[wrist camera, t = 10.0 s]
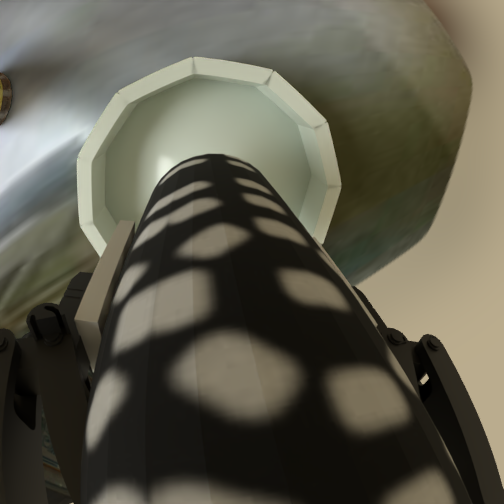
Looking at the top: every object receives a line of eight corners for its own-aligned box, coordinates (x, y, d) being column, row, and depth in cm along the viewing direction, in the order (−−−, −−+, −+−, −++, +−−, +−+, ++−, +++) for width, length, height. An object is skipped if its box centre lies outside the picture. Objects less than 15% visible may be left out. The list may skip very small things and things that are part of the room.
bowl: (107, 62, 16) (87, 56, 12) (338, 96, 21) (365, 99, 17) (102, 270, 25) (90, 298, 22) (286, 281, 30) (299, 308, 27)
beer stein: (129, 382, 36) (130, 533, 15) (60, 397, 37) (49, 511, 16) (54, 315, 27) (9, 502, 6) (-3, 345, 28) (-38, 469, 7)
